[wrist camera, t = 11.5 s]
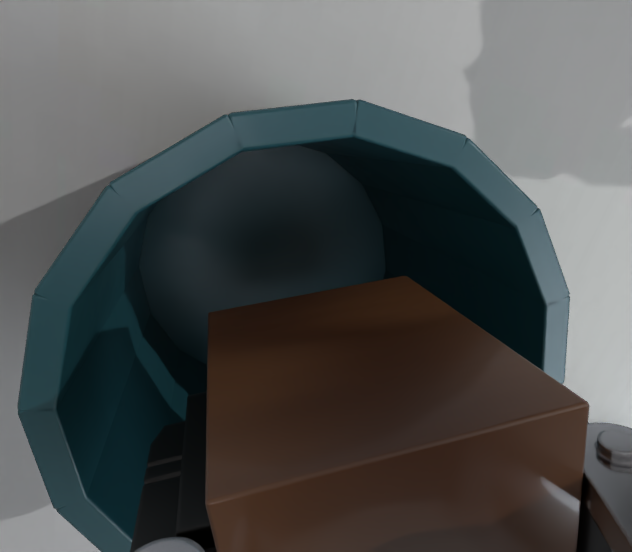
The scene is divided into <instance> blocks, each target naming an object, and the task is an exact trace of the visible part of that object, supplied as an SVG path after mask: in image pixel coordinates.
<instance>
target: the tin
mask: <svg viewBox="0 0 632 552" xmlns="http://www.w3.org/2000/svg"><path fill="white" fill-rule="evenodd" d="M400 276H407V277H409V278H410V279H412V280H413V281H414V282H416V283H417V284H419V285H420V286H422V287H423V288H424V289H426V290H427V291H429V292H430V293H432V294H433V295H434V296H436V297H437V298H439V299H440V300H442V301H443V302H445V303H446V304H447V305H449V306H450V307H452V308H453V309H455V310H456V311H457V312H459V313H460V314H462V315H463V316H465V317H466V318H468V319H469V320H470V321H472V322H473V323H475V324H476V325H478V326H479V327H480V328H482V329H483V330H485V331H486V332H488V333H489V334H490V335H492V336H493V337H495V338H496V339H498V340H499V341H501V342H502V343H503V344H505V345H506V346H508V347H509V348H511V349H512V350H513V351H515V352H516V353H518V354H519V355H521V356H522V357H524V358H525V359H526V360H528V361H529V362H531V363H532V364H534V365H535V366H536V367H538V368H539V369H541V370H542V371H544V372H545V373H547V374H548V375H549V376H551V377H552V378H554V379H555V380H557V381H558V382H559V383H561V384H562V383H563V382H564V377H565V362H566V347H567V332H568V317H569V302H570V297H569V291H568V288H567V285H566V282H565V279H564V276H563V273H562V271H561V268H560V265H559V262H558V259H557V256H556V253H555V251H554V248H553V245H552V242H551V239H550V236H549V233H548V231H547V228H546V225H545V222H544V219H543V216H542V213H541V211H540V209H539V208H537V206H536V205H535V204H534V203H533V202H532V201H531V200H530V199H529V198H528V197H527V196H526V195H525V194H524V193H523V192H522V191H521V190H520V189H519V188H518V187H517V186H516V185H515V184H514V183H513V182H512V181H511V180H510V179H509V178H508V177H507V176H506V175H505V174H504V173H503V172H502V171H501V170H500V169H499V168H498V167H497V166H496V165H495V164H494V163H493V162H492V161H491V160H490V159H489V158H488V157H487V156H486V155H485V154H484V153H483V152H482V151H481V150H480V149H479V148H478V147H477V146H476V145H475V144H474V143H473V142H472V141H471V140H470V139H469V138H466V136H465V135H463V134H460V133H458V132H455V131H452V130H449V129H446V128H443V127H440V126H437V125H434V124H431V123H428V122H425V121H422V120H419V119H416V118H413V117H410V116H407V115H404V114H401V113H398V112H395V111H393V110H390V109H387V108H384V107H381V106H378V105H375V104H372V103H369V102H366V101H363V100H353V99H350V100H341V101H332V102H323V103H314V104H305V105H296V106H287V107H278V108H269V109H261V110H252V111H243V112H234V113H230V114H229V115H223V116H221V117H220V118H218V119H216V120H214V121H213V122H211V123H209V124H208V125H206V126H204V127H203V128H201V129H199V130H198V131H196V132H194V133H192V134H191V135H189V136H187V137H186V138H184V139H182V140H181V141H179V142H177V143H176V144H174V145H172V146H171V147H169V148H167V149H165V150H164V151H162V152H160V153H159V154H157V155H155V156H154V157H152V158H150V159H149V160H147V161H145V162H143V163H142V164H140V165H138V166H137V167H135V168H133V169H132V170H130V171H128V172H127V173H125V174H123V175H121V176H120V177H118V178H116V179H115V180H113V181H111V182H110V184H109V185H108V186H106V187H105V188H104V190H103V191H102V193H101V194H100V196H99V197H98V199H97V200H96V201H95V203H94V204H93V206H92V207H91V209H90V210H89V212H88V213H87V215H86V216H85V217H84V219H83V220H82V222H81V223H80V225H79V226H78V228H77V229H76V230H75V232H74V233H73V235H72V236H71V238H70V239H69V241H68V242H67V244H66V245H65V246H64V248H63V249H62V251H61V252H60V254H59V255H58V257H57V258H56V260H55V261H54V262H53V264H52V265H51V267H50V268H49V270H48V271H47V273H46V274H45V275H44V277H43V278H42V280H41V281H40V283H39V284H38V286H37V287H36V289H35V292H34V295H33V296H32V302H31V310H30V317H29V325H28V332H27V339H26V347H25V354H24V362H23V369H22V377H21V384H20V392H19V399H18V415H19V418H20V420H21V423H22V426H23V428H24V431H25V434H26V436H27V439H28V442H29V444H30V447H31V449H32V452H33V455H34V457H35V460H36V463H37V465H38V468H39V471H40V473H41V476H42V478H43V481H44V484H45V486H46V489H47V492H48V494H49V497H50V499H51V502H52V505H53V507H54V508H55V509H56V510H57V512H58V513H59V514H60V515H62V516H63V517H64V518H65V519H66V520H67V521H68V522H69V523H70V524H71V525H73V526H74V527H75V528H76V529H77V530H78V531H79V532H80V533H81V534H82V535H84V536H85V537H86V538H87V539H88V540H89V541H90V542H91V543H92V544H93V545H95V546H96V547H97V548H98V549H99V550H100V551H101V552H130V550H131V544H132V539H133V534H134V529H135V524H136V519H137V513H138V508H139V503H140V498H141V493H142V487H143V485H144V477H145V472H146V468H147V462H148V456H149V451H150V446H151V443H152V442H153V441H154V439H155V438H156V437H157V435H158V434H159V433H160V431H161V430H162V429H163V427H164V426H165V425H169V424H174V423H178V422H183V421H185V417H186V406H187V397H188V395H192V394H197V393H201V392H206V391H207V344H208V313H209V312H213V311H219V310H224V309H229V308H235V307H240V306H245V305H251V304H256V303H261V302H267V301H272V300H277V299H283V298H288V297H293V296H299V295H304V294H309V293H315V292H320V291H325V290H331V289H336V288H341V287H347V286H352V285H357V284H363V283H368V282H373V281H379V280H384V279H389V278H395V277H400ZM562 385H563V384H562Z"/></svg>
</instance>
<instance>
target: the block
mask: <svg viewBox="0 0 632 552" xmlns="http://www.w3.org/2000/svg"><path fill="white" fill-rule="evenodd" d="M588 415H589V404H588V402H587V401H585V400H584V399H582V398H581V397H580V396H578V395H577V394H575V393H574V392H572V391H571V390H569V389H568V388H567V387H565V386H564V385H562V384H561V383H559V382H558V381H557V380H555V379H554V378H552V377H551V376H549V375H548V374H547V373H545V372H544V371H542V370H541V369H539V368H538V367H536V366H535V365H534V364H532V363H531V362H529V361H528V360H526V359H525V358H524V357H522V356H521V355H519V354H518V353H516V352H515V351H513V350H512V349H511V348H509V347H508V346H506V345H505V344H503V343H502V342H501V341H499V340H498V339H496V338H495V337H493V336H492V335H490V334H489V333H488V332H486V331H485V330H483V329H482V328H480V327H479V326H478V325H476V324H475V323H473V322H472V321H470V320H469V319H468V318H466V317H465V316H463V315H462V314H460V313H459V312H457V311H456V310H455V309H453V308H452V307H450V306H449V305H447V304H446V303H445V302H443V301H442V300H440V299H439V298H437V297H436V296H434V295H433V294H432V293H430V292H429V291H427V290H426V289H424V288H423V287H422V286H420V285H419V284H417V283H416V282H414V281H413V280H412V279H410V278H409V277H407V276H400V277H395V278H389V279H384V280H379V281H373V282H368V283H363V284H357V285H352V286H347V287H341V288H336V289H331V290H325V291H320V292H315V293H309V294H304V295H299V296H293V297H288V298H283V299H277V300H272V301H267V302H261V303H256V304H251V305H245V306H240V307H235V308H229V309H224V310H219V311H213V312H209V313H208V344H207V410H206V477H205V505H206V510H207V514H208V518H209V522H210V526H211V530H212V534H213V538H214V542H215V546H216V550H217V552H577V540H578V529H579V517H580V506H581V495H582V483H583V472H584V461H585V449H586V438H587V426H588Z"/></svg>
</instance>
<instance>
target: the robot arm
mask: <svg viewBox="0 0 632 552" xmlns="http://www.w3.org/2000/svg"><path fill="white" fill-rule="evenodd" d="M206 410H207V391H206V392H201V393H197V394H192V395H188V397H187V406H186V417H185V421H183V422H178V423H174V424H169V425H165V426H164V427H163V429H162V430H161V431H160V433H159V434H158V435H157V437H156V438H155V439H154V441H153V442H152V443H151V446H150V451H149V456H148V462H147V468H146V472H145V477H144V485H143V487H142V493H141V498H140V503H139V508H138V513H137V519H136V524H135V529H134V534H133V539H132V544H131V550H130V552H217V550H216V546H215V542H214V538H213V534H212V530H211V526H210V522H209V518H208V514H207V510H206V505H205V477H206ZM577 552H632V428H629V427H625V426H621V425H617V424H611V423H588V426H587V438H586V449H585V461H584V472H583V483H582V495H581V506H580V517H579V529H578V540H577Z"/></svg>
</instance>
